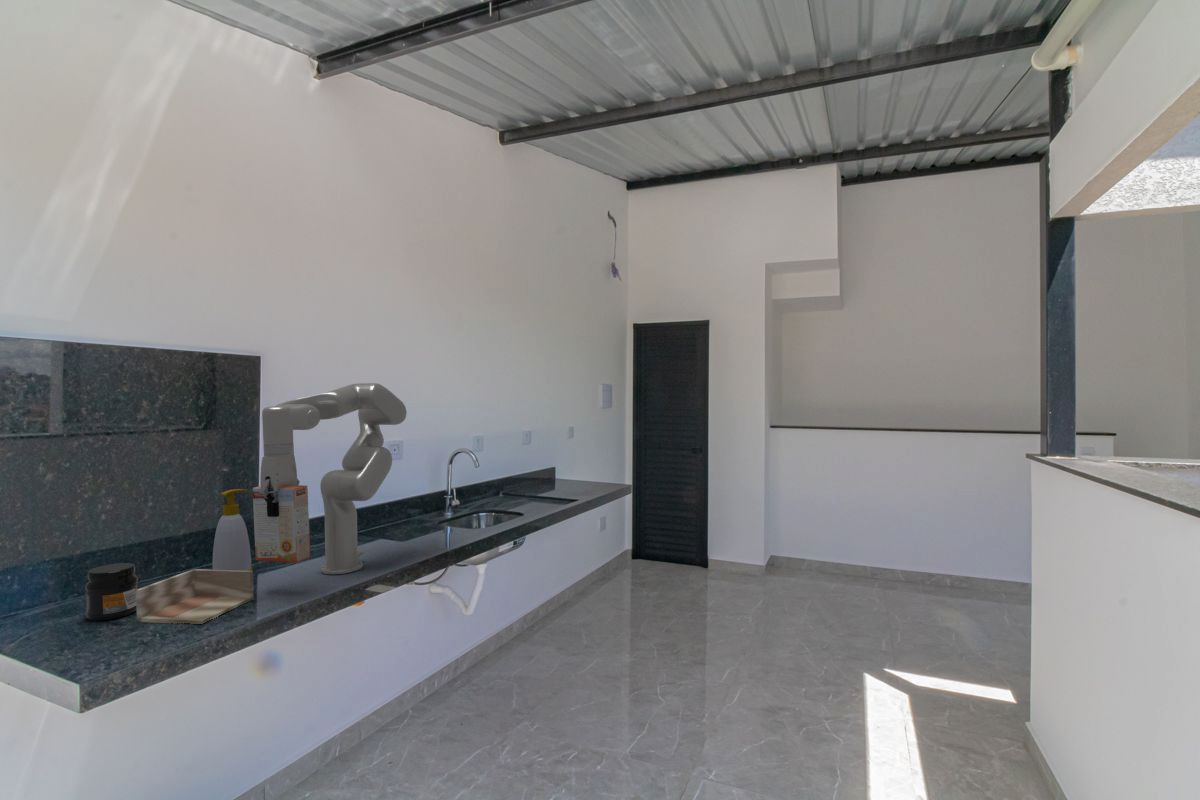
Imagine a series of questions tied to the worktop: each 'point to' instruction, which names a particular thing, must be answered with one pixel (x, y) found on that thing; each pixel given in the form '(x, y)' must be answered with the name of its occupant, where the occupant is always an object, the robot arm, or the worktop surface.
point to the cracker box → (282, 526)
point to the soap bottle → (231, 538)
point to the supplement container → (111, 592)
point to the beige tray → (194, 596)
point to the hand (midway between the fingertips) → (281, 513)
